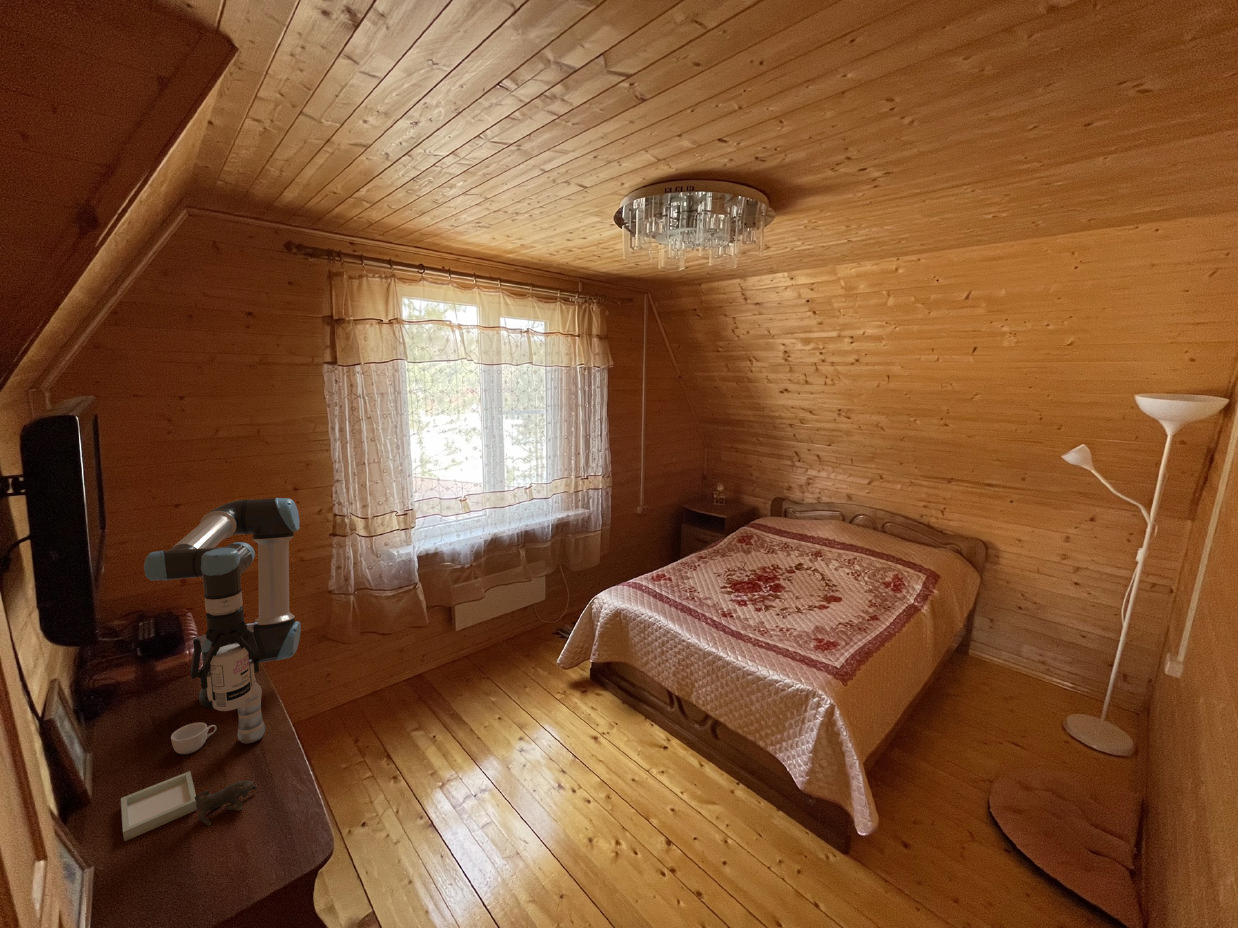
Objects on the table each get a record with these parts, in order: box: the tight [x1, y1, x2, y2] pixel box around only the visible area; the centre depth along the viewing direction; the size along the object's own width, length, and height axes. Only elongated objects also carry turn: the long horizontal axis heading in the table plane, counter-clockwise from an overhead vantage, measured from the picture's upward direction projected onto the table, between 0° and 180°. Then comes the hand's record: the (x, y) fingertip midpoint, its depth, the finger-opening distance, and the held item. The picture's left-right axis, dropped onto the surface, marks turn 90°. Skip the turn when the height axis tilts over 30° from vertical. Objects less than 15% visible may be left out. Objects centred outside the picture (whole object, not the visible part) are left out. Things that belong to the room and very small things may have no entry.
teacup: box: [170, 721, 217, 755], centre depth 145 cm, size 10×8×5 cm
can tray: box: [120, 770, 198, 843], centre depth 124 cm, size 13×13×2 cm
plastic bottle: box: [237, 673, 266, 745], centre depth 147 cm, size 6×7×20 cm
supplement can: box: [209, 643, 252, 712], centre depth 133 cm, size 8×8×15 cm
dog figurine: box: [195, 779, 258, 826], centre depth 124 cm, size 12×6×7 cm, turn 131°
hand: (231, 691), depth 133 cm, fingers closed on supplement can, 8 cm apart
